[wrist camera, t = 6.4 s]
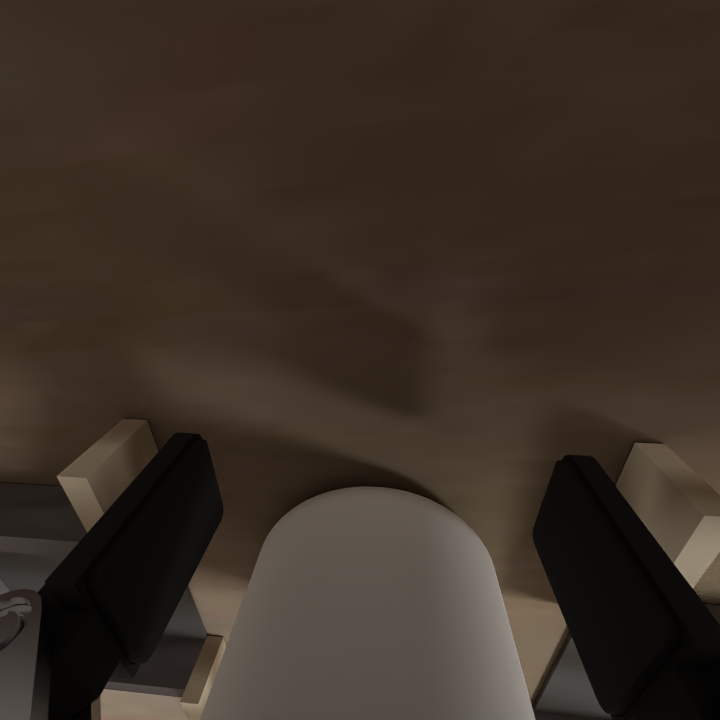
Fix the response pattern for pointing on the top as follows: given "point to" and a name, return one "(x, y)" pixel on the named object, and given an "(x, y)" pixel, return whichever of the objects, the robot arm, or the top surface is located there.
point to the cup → (371, 619)
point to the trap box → (204, 653)
